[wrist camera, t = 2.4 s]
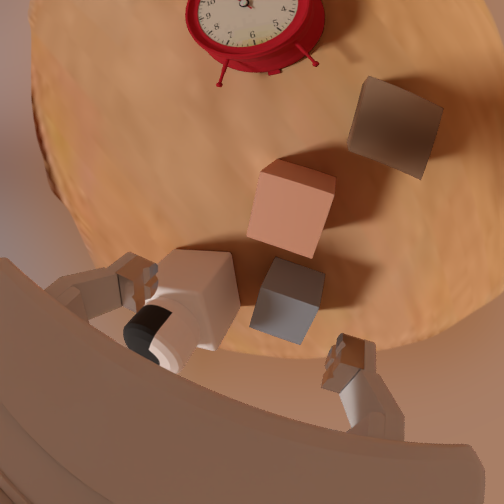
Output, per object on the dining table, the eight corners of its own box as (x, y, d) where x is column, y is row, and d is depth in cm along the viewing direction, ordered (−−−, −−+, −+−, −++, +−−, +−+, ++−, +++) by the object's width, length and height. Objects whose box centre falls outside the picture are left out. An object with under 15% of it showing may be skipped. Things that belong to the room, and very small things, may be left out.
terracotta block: (277, 158, 21) (260, 171, 17) (336, 177, 21) (334, 194, 16) (264, 212, 24) (246, 236, 20) (318, 230, 23) (311, 258, 19)
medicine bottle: (187, 299, 33) (132, 370, 23) (173, 247, 29) (101, 316, 20) (242, 306, 30) (195, 392, 21) (232, 250, 27) (168, 335, 17)
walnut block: (362, 84, 16) (368, 75, 12) (422, 108, 15) (443, 108, 11) (346, 142, 19) (348, 150, 15) (404, 164, 18) (420, 180, 14)
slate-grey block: (275, 256, 26) (260, 286, 22) (325, 273, 25) (319, 307, 21) (264, 294, 29) (249, 326, 25) (308, 310, 28) (300, 345, 24)
